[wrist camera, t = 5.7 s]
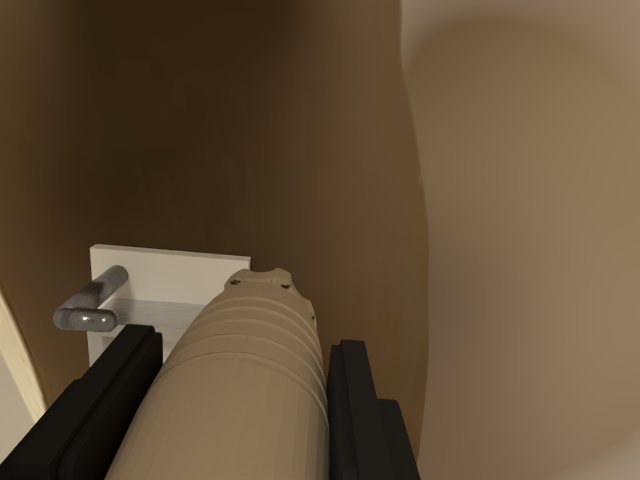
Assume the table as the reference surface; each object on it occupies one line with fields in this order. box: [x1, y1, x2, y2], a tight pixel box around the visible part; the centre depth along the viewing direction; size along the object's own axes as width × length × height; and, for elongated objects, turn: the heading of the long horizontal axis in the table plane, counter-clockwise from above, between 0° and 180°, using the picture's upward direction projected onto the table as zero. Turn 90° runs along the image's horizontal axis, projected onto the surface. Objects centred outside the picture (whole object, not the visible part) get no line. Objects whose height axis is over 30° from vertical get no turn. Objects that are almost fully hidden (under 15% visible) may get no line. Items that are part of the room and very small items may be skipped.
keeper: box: [54, 244, 251, 367], centre depth 31 cm, size 14×12×9 cm
